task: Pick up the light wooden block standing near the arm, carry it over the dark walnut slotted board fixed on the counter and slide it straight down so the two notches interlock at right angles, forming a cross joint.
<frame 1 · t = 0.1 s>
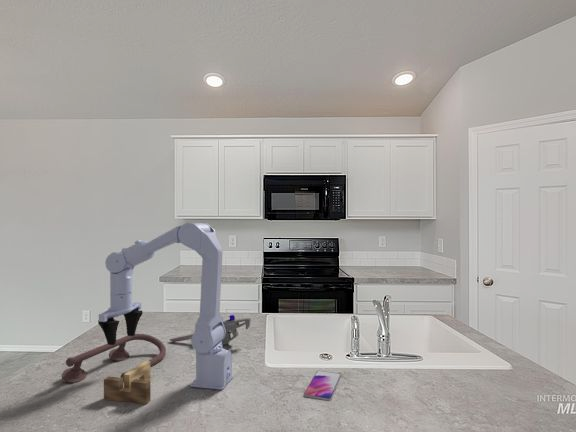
hand: (121, 339, 101), 10 cm above the countertop, fingers open, 7 cm apart
smartphone: (323, 387, 93), on the countertop
toy gun: (209, 344, 125), on the countertop
light wooden block: (137, 386, 93), on the countertop
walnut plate: (127, 400, 86), on the countertop
toilet paper hanger: (121, 369, 106), on the countertop
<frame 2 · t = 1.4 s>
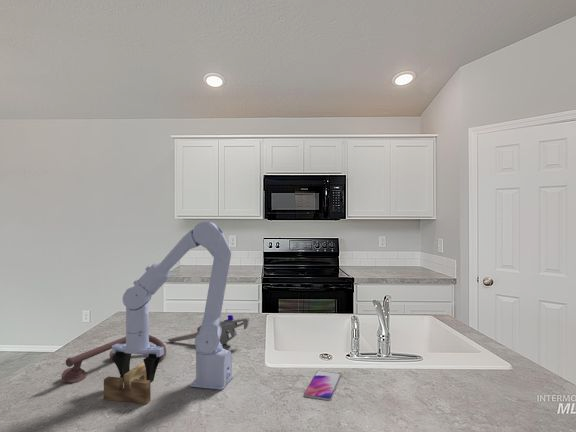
hand: (137, 380, 93), 1 cm above the countertop, fingers open, 7 cm apart
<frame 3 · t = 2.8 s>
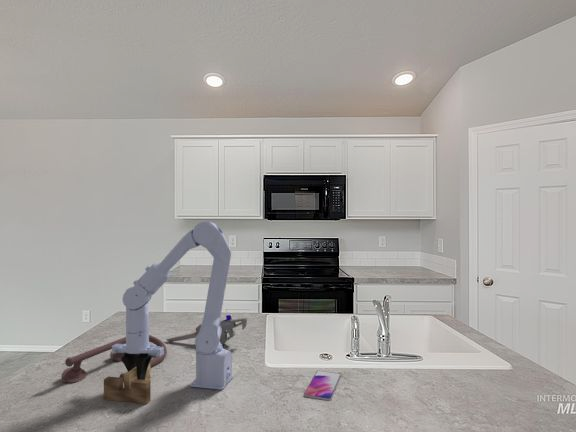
hand: (137, 380, 93), 1 cm above the countertop, fingers closed on light wooden block, 2 cm apart
light wooden block: (137, 386, 93), on the countertop, touching gripper
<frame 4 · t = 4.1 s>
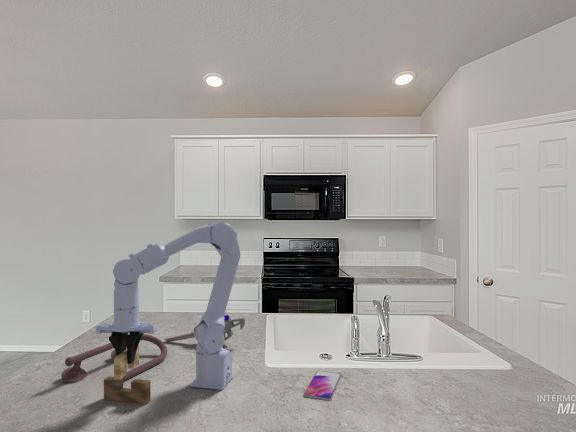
hand: (126, 362, 86), 9 cm above the countertop, fingers closed on light wooden block
light wooden block: (127, 371, 86), point 7 cm above the countertop, touching gripper
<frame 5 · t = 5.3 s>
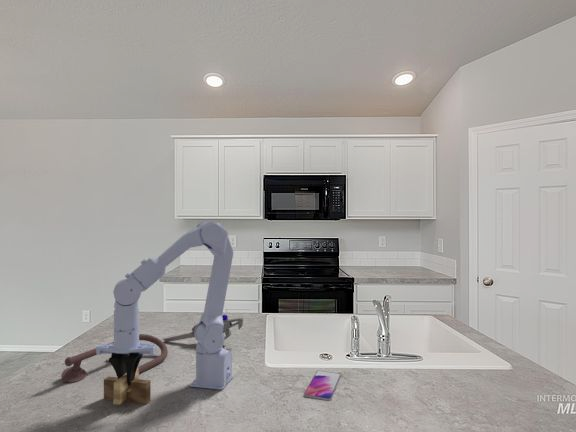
hand: (126, 383, 86), 4 cm above the countertop, fingers closed, pressing on light wooden block, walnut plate
light wooden block: (126, 395, 86), point 1 cm above the countertop, touching gripper
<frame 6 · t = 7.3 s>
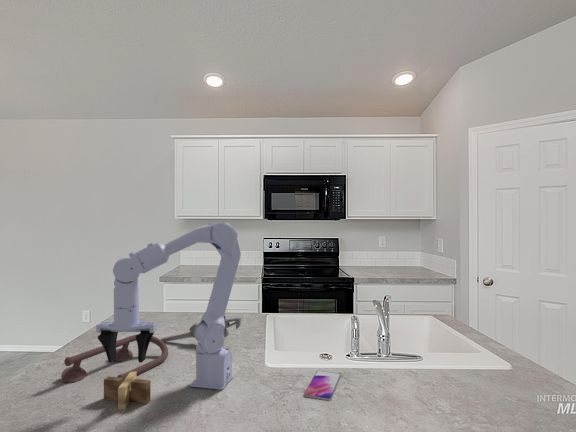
hand: (127, 360, 86), 10 cm above the countertop, fingers open, 7 cm apart
light wooden block: (127, 399, 86), on the countertop, touching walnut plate
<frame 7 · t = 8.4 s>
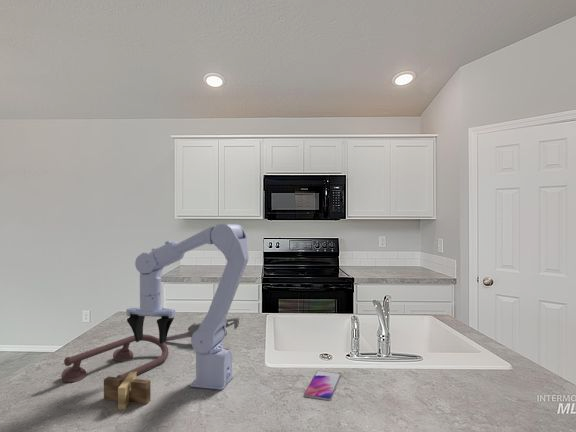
hand: (150, 341, 99), 10 cm above the countertop, fingers open, 7 cm apart
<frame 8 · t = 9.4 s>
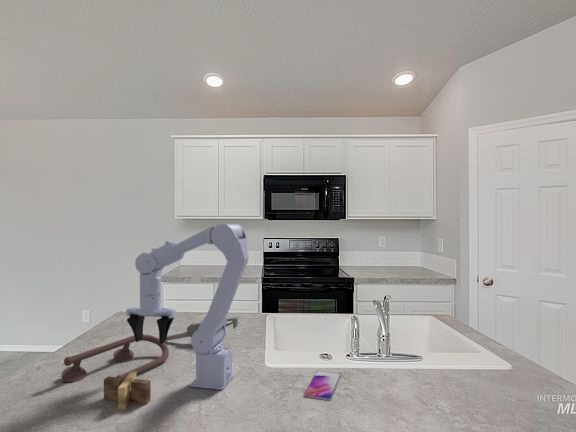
hand: (150, 341, 99), 10 cm above the countertop, fingers open, 7 cm apart
at the end: light wooden block 0.2 cm off-centre on the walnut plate, point 0.0 cm above the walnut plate's base; light wooden block tilted 0°; the gripper is holding nothing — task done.
